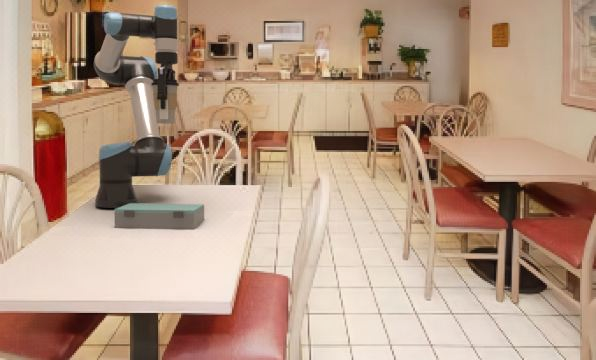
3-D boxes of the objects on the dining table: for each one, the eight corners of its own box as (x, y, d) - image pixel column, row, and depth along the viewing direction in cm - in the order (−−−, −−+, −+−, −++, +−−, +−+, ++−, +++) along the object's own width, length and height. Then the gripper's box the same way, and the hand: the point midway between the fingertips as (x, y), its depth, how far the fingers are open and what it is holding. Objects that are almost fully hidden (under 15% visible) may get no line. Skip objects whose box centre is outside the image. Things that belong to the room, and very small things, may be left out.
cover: (130, 209, 215) (129, 203, 214) (204, 211, 213) (204, 204, 213) (113, 216, 199) (113, 209, 199) (193, 218, 197) (193, 211, 197)
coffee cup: (153, 123, 208) (152, 78, 207) (150, 123, 217) (149, 80, 216) (181, 123, 211) (180, 79, 210) (177, 123, 220) (177, 80, 219)
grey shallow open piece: (130, 220, 215) (130, 206, 215) (204, 221, 213) (204, 207, 213) (114, 227, 200) (114, 212, 200) (194, 229, 198) (194, 213, 198)
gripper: (163, 55, 222) (164, 119, 225) (146, 48, 202) (147, 119, 204) (184, 55, 222) (185, 119, 224) (169, 48, 202) (169, 119, 204)
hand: (167, 119), depth 214 cm, fingers closed on coffee cup, 7 cm apart
